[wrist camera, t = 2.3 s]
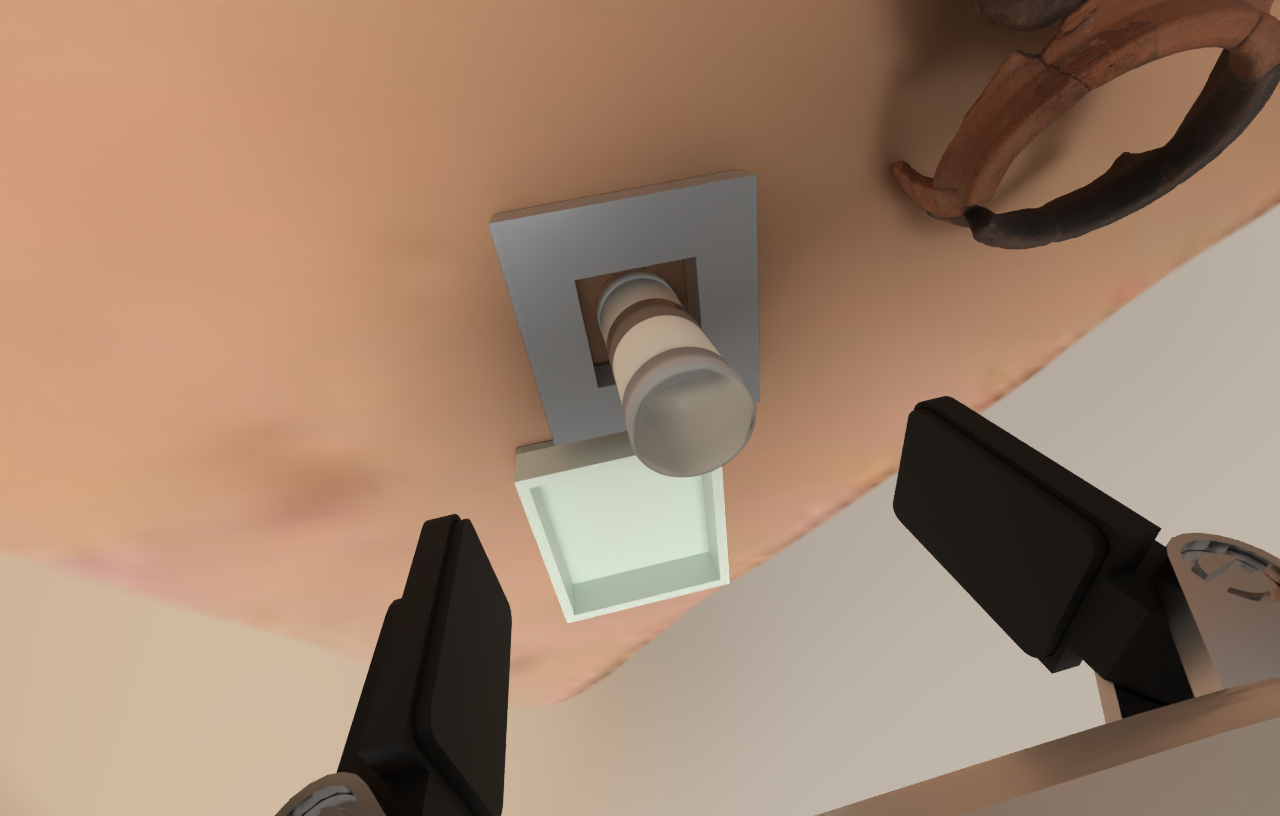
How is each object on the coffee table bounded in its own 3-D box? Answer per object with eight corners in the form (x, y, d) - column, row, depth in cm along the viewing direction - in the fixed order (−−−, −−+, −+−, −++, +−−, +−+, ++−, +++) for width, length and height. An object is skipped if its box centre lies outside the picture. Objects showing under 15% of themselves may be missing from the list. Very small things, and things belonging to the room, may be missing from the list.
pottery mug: (1167, -4, 17) (1343, 129, 14) (907, 178, 23) (977, 307, 20) (1130, -449, 10) (1490, -441, 6) (766, -19, 16) (832, 123, 12)
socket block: (736, 169, 17) (756, 174, 16) (743, 380, 22) (759, 401, 21) (493, 214, 17) (488, 224, 15) (554, 421, 22) (555, 446, 20)
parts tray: (703, 407, 23) (719, 436, 20) (715, 548, 28) (729, 583, 26) (517, 448, 22) (514, 482, 20) (565, 584, 27) (567, 623, 25)
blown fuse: (670, 261, 19) (755, 354, 11) (678, 337, 21) (756, 462, 13) (588, 277, 19) (618, 383, 11) (603, 352, 20) (639, 489, 13)
